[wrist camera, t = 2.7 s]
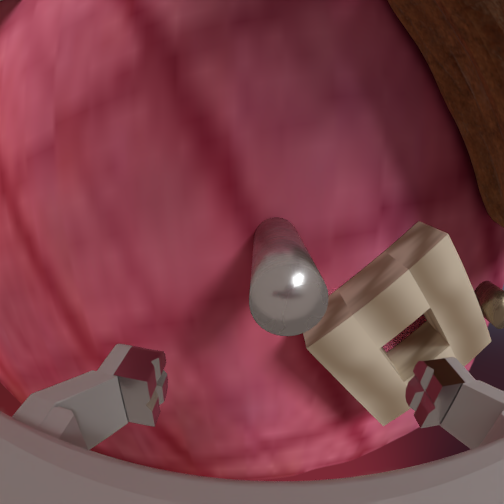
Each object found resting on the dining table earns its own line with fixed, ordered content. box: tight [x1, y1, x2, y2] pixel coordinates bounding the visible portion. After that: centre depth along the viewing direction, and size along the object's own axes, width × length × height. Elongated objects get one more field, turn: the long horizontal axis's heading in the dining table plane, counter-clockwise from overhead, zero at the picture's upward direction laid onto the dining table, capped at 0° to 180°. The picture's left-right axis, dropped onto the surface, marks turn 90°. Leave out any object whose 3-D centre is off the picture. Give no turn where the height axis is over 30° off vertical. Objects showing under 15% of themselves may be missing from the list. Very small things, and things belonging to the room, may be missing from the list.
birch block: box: [303, 221, 491, 426], centre depth 25 cm, size 14×14×5 cm
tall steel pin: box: [249, 217, 328, 336], centre depth 19 cm, size 4×4×12 cm
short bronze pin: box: [474, 281, 504, 329], centre depth 24 cm, size 4×4×4 cm
